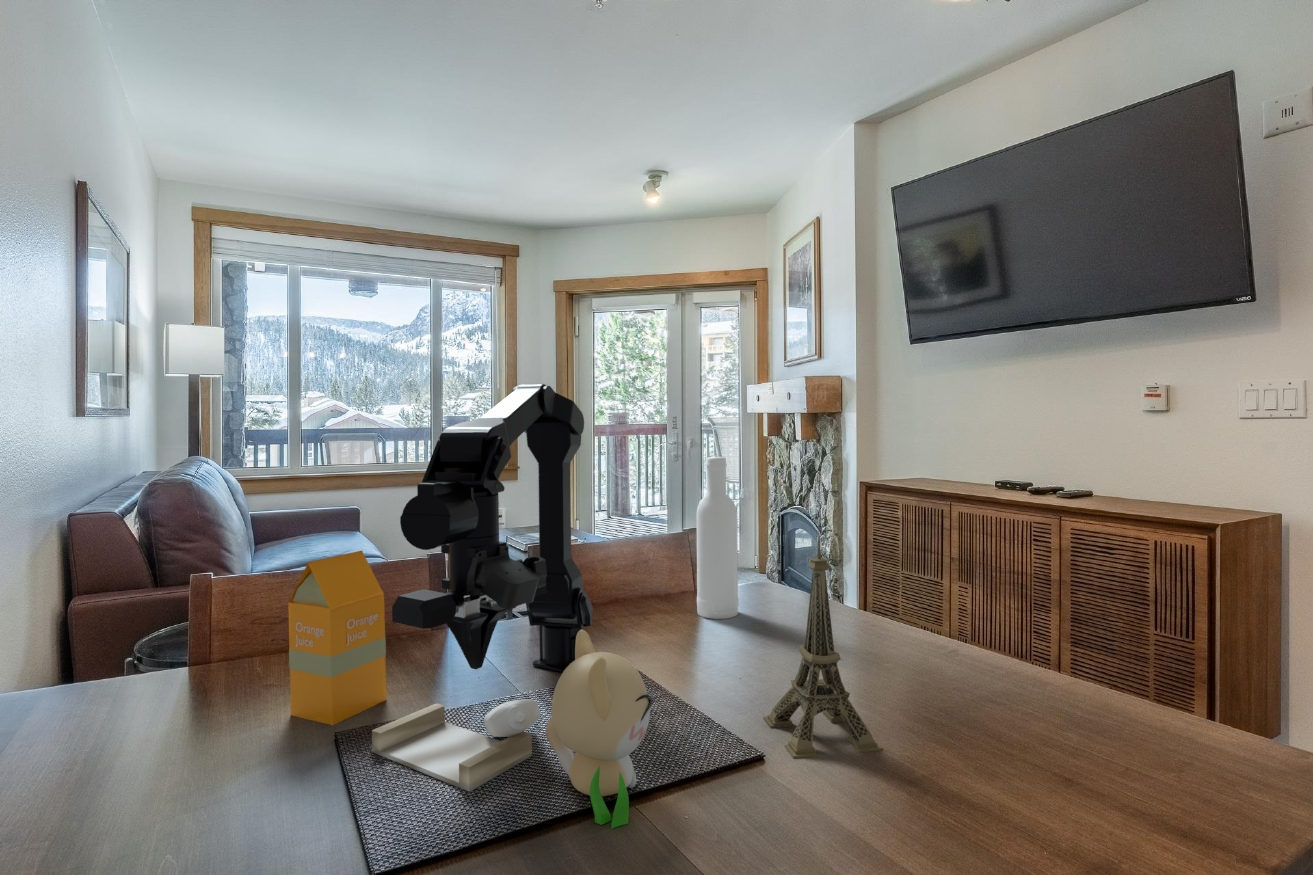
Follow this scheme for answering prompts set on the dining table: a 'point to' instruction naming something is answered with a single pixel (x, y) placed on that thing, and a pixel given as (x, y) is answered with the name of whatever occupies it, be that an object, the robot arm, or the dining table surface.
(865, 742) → the eiffel tower
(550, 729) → the kitten
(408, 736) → the u rest
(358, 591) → the orange juice
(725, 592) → the bottle
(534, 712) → the eye dropper bottle
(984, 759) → the dining table surface
